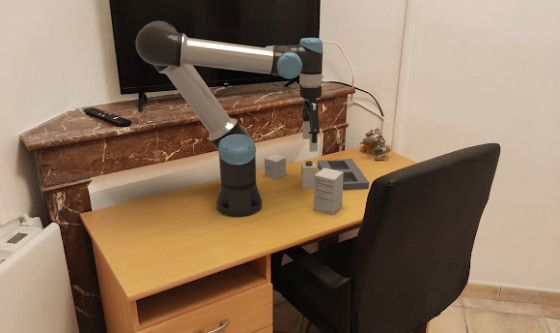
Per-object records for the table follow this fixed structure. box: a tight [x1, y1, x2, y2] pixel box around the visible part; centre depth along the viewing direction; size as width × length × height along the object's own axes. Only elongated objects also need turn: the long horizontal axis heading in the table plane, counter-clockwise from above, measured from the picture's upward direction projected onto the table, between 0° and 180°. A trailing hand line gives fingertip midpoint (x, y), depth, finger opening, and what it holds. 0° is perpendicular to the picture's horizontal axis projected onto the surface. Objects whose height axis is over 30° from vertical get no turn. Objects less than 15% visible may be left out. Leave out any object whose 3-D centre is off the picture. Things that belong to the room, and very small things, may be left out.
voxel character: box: [359, 127, 391, 161], centre depth 198 cm, size 11×10×15 cm
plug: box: [300, 160, 318, 189], centre depth 171 cm, size 5×5×9 cm
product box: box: [264, 153, 287, 180], centre depth 180 cm, size 6×6×7 cm
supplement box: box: [313, 168, 344, 215], centre depth 153 cm, size 7×7×13 cm
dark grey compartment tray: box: [317, 158, 370, 191], centre depth 179 cm, size 14×24×2 cm, turn 7°
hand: (309, 144), depth 166 cm, fingers open, 13 cm apart
